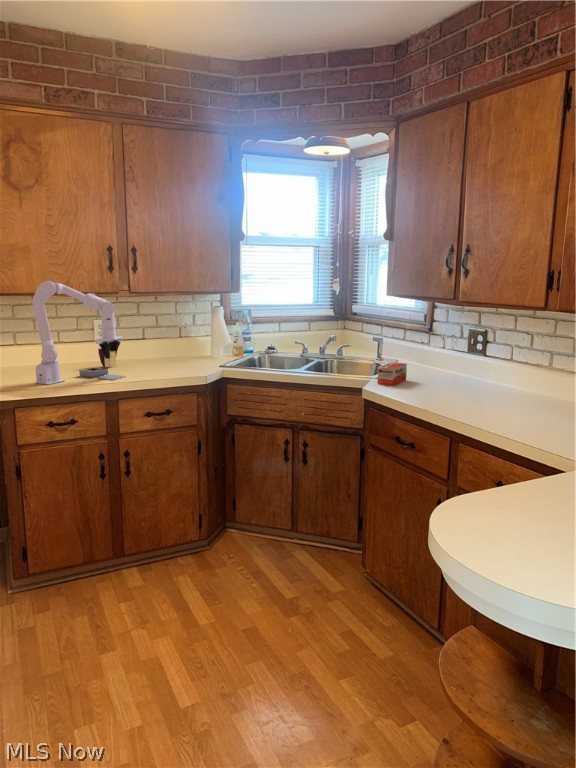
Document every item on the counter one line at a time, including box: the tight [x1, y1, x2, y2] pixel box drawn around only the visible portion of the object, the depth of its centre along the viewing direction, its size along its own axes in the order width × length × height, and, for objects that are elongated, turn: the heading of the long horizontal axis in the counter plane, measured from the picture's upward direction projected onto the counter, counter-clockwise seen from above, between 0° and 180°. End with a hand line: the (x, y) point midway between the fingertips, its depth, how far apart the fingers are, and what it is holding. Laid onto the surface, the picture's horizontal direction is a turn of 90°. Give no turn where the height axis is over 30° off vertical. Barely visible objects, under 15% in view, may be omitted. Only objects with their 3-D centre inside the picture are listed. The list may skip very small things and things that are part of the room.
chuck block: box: [78, 366, 109, 379], centre depth 257 cm, size 9×9×3 cm
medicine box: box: [377, 361, 408, 387], centre depth 243 cm, size 15×8×8 cm, turn 149°
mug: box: [97, 346, 111, 369], centre depth 279 cm, size 10×8×10 cm
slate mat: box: [96, 373, 126, 381], centre depth 253 cm, size 9×9×1 cm
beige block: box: [104, 351, 117, 368], centre depth 251 cm, size 4×4×7 cm
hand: (110, 357), depth 251 cm, fingers closed on beige block, 3 cm apart
